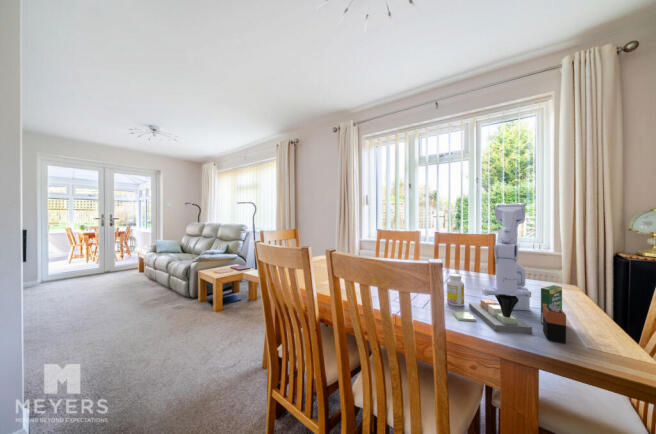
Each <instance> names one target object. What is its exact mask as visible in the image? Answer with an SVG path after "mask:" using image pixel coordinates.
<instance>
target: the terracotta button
mask: <svg viewBox="0 0 656 434" xmlns="http://www.w3.org/2000/svg"><path fill="white" fill-rule="evenodd" d="M480 304H481V307H482V308H483V309H485V310H488V305H498V304H497V303H496V301H494V300H492V299H487V298H485V299H483V298H481V299H480Z"/></svg>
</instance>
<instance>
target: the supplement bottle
mask: <svg viewBox="0 0 656 434" xmlns="http://www.w3.org/2000/svg"><path fill="white" fill-rule="evenodd" d="M448 275H449V279H448V280H447V281H446V302H447V304H449V305H450V306H453V307H462V306H464V305H465V283H464V281H463V280H462V274H458V273H449V274H448Z"/></svg>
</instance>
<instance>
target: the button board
mask: <svg viewBox="0 0 656 434" xmlns="http://www.w3.org/2000/svg"><path fill="white" fill-rule="evenodd" d="M468 308H469V309H470V310H471V311H472V312H473V313H474V314H475V315H477V317H478V318H480V319H481V320H482V321H483V322H485V323H486V324H487V325H488V326H489V327H490V328H491V329H492V330H494V331H495V332H503V333H505V332H506V333H517V334H518V333H522V334H523V333H524V334H532V333H533V327H532V326H530V325H529V324H528V323H526V322H524V321H523V320H522V319H520V318H519V317H518V316H516V315H514V314H512V313H511V316H513V317H514V318H516V324H503V323H501V322H500V321H499V320H498V319H497V316H492V315H491V314H490V313H489V312H488V310H485V309H483V308H482V307H481V303H473V302H472V303H471V302H469V303H468Z"/></svg>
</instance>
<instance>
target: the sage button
mask: <svg viewBox="0 0 656 434" xmlns="http://www.w3.org/2000/svg"><path fill="white" fill-rule="evenodd" d="M497 319H498V320H499V321H500V322H501V323H503V324H516V318H514V317H513V316H510V317H505V316H503V314H498V313H497Z"/></svg>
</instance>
